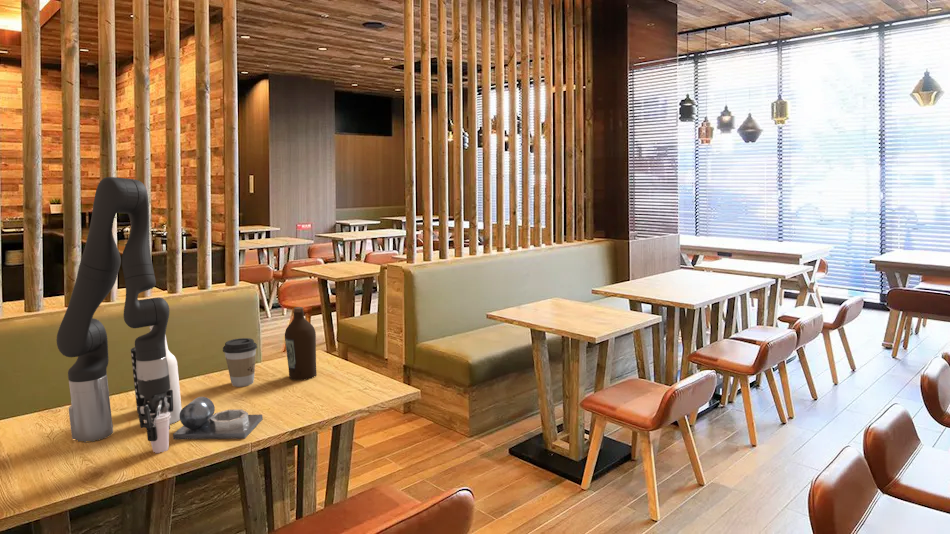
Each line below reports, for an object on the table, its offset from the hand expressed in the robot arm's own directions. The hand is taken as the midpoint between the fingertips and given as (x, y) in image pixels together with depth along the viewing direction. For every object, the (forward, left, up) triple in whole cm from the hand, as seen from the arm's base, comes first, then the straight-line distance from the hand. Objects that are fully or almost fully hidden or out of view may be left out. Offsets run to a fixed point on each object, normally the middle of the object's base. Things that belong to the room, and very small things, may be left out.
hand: (159, 435), depth 175 cm
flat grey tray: (+10, +14, -4) cm, 18 cm away
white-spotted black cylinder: (-18, +30, -4) cm, 35 cm away
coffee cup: (+1, +55, -4) cm, 55 cm away
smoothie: (0, 0, -4) cm, 4 cm away
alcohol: (-9, +21, -4) cm, 23 cm away
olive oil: (+20, +62, -4) cm, 65 cm away
